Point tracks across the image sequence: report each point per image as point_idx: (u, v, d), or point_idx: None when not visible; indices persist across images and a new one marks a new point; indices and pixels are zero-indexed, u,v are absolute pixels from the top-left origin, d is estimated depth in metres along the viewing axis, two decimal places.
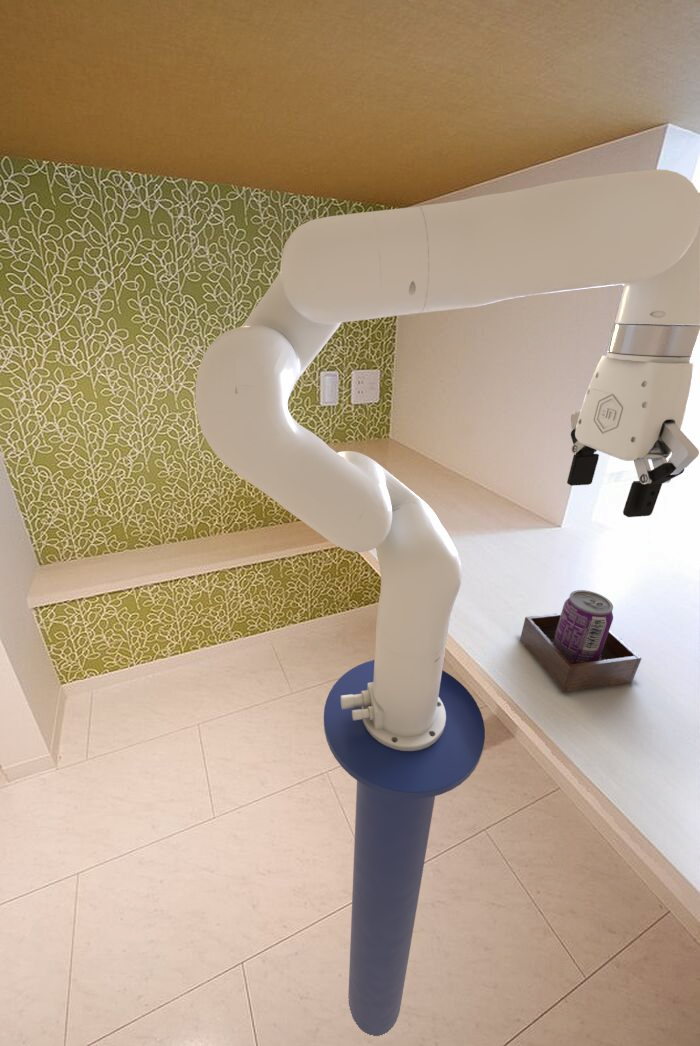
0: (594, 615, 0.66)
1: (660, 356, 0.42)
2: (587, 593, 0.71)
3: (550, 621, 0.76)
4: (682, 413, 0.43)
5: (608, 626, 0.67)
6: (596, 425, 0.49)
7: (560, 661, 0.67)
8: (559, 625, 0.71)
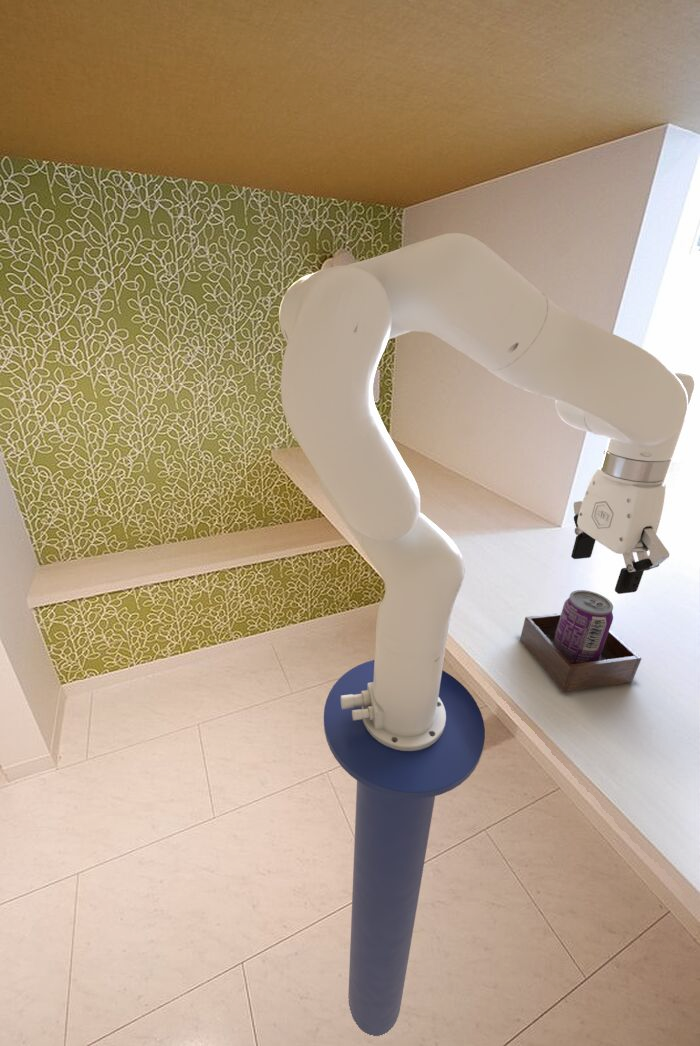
0: (594, 615, 0.66)
1: (640, 481, 0.56)
2: (587, 593, 0.71)
3: (550, 621, 0.76)
4: (658, 521, 0.57)
5: (608, 626, 0.67)
6: (593, 521, 0.63)
7: (560, 661, 0.67)
8: (559, 625, 0.71)
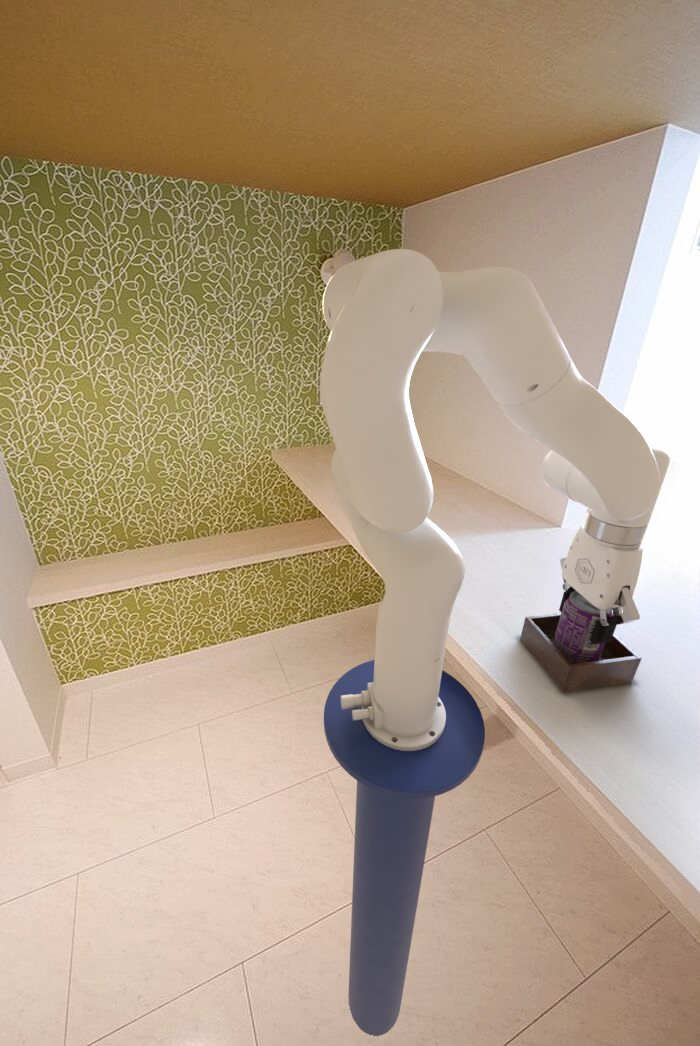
0: (594, 615, 0.66)
1: (619, 545, 0.60)
2: None
3: (550, 621, 0.76)
4: (635, 580, 0.61)
5: None
6: (576, 575, 0.67)
7: (560, 661, 0.67)
8: (559, 625, 0.71)
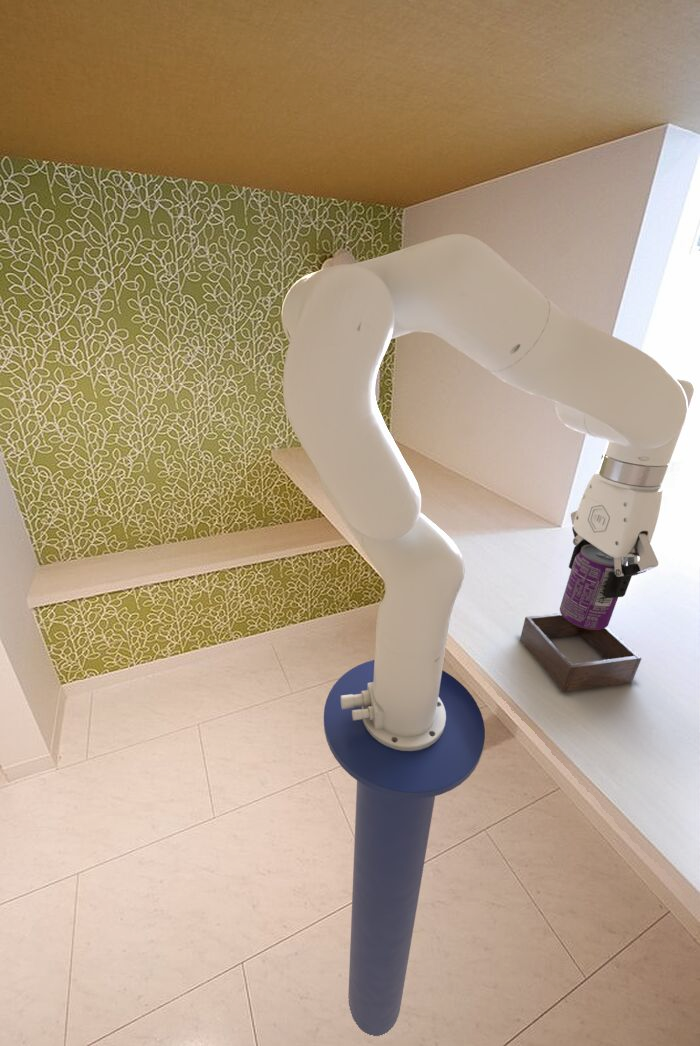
0: (607, 567, 0.62)
1: (637, 486, 0.56)
2: None
3: (550, 621, 0.76)
4: (654, 526, 0.58)
5: None
6: (589, 524, 0.63)
7: (560, 661, 0.67)
8: (569, 581, 0.67)
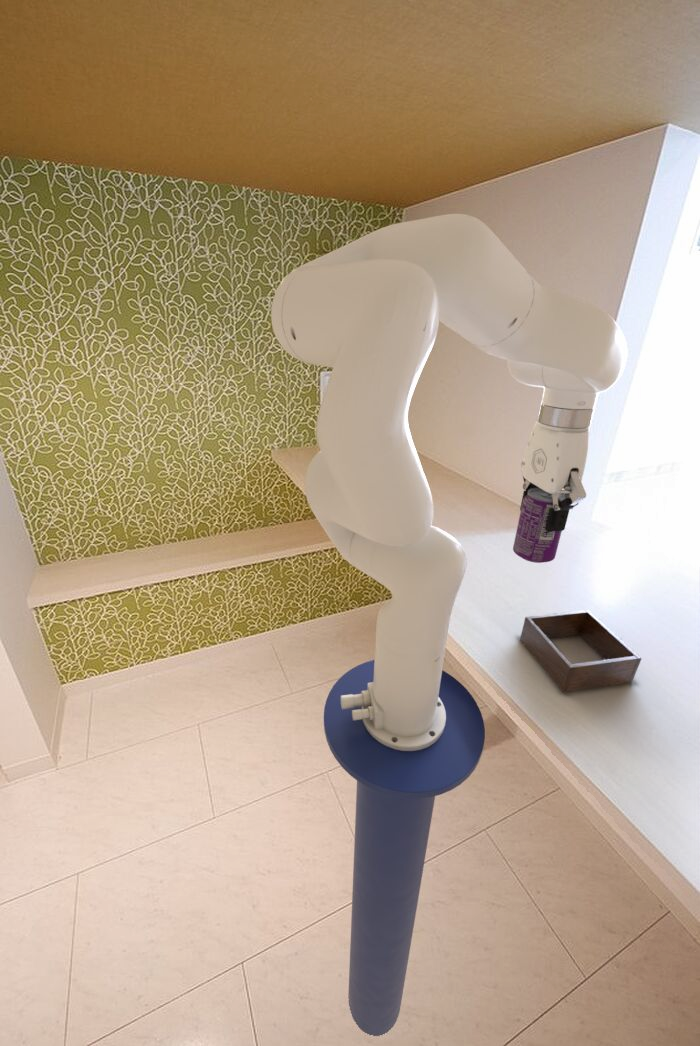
0: (548, 503, 0.71)
1: (567, 428, 0.65)
2: None
3: (550, 621, 0.76)
4: (583, 464, 0.66)
5: None
6: (532, 467, 0.72)
7: (560, 661, 0.67)
8: (519, 521, 0.76)
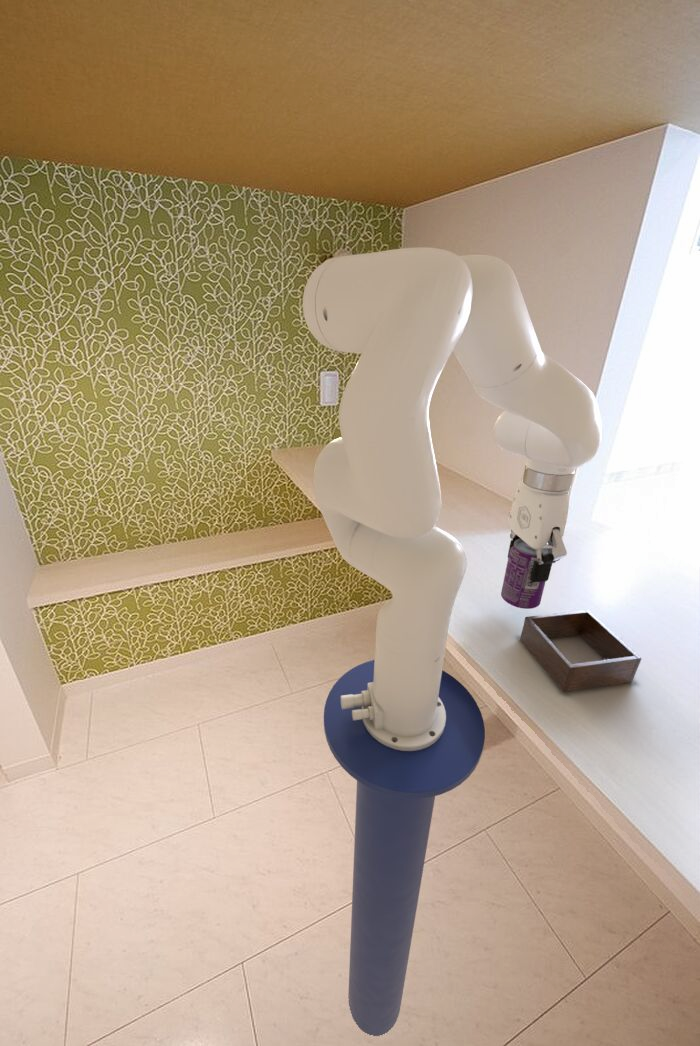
0: (532, 556, 0.76)
1: (548, 491, 0.69)
2: None
3: (550, 621, 0.76)
4: (564, 523, 0.71)
5: None
6: (518, 522, 0.77)
7: (560, 661, 0.67)
8: (506, 569, 0.81)
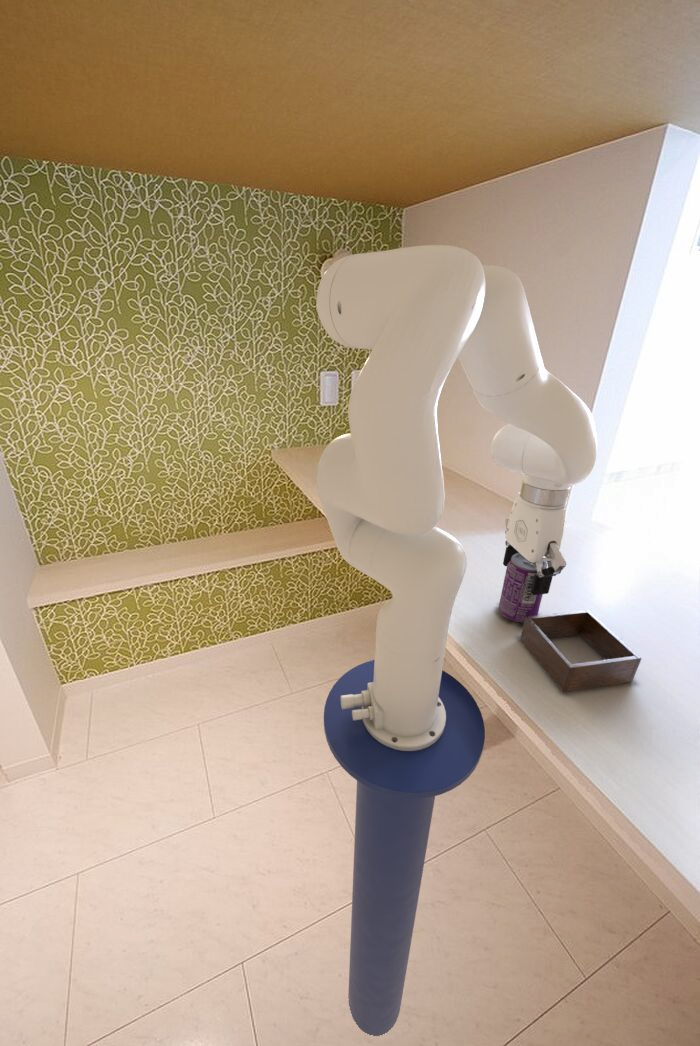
0: (529, 572, 0.77)
1: (545, 506, 0.71)
2: None
3: (550, 621, 0.76)
4: (561, 537, 0.72)
5: None
6: (515, 535, 0.78)
7: (560, 661, 0.67)
8: (503, 583, 0.82)
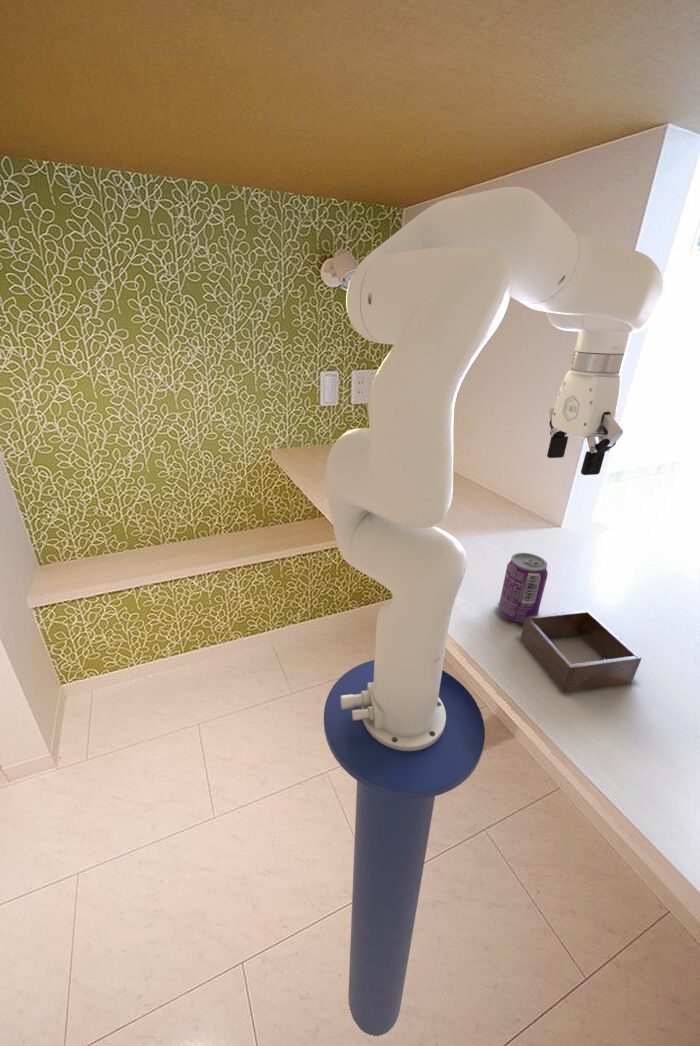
0: (529, 572, 0.77)
1: (600, 372, 0.68)
2: (528, 555, 0.82)
3: (550, 621, 0.76)
4: (615, 408, 0.69)
5: (542, 581, 0.78)
6: (564, 416, 0.75)
7: (560, 661, 0.67)
8: (504, 583, 0.82)
